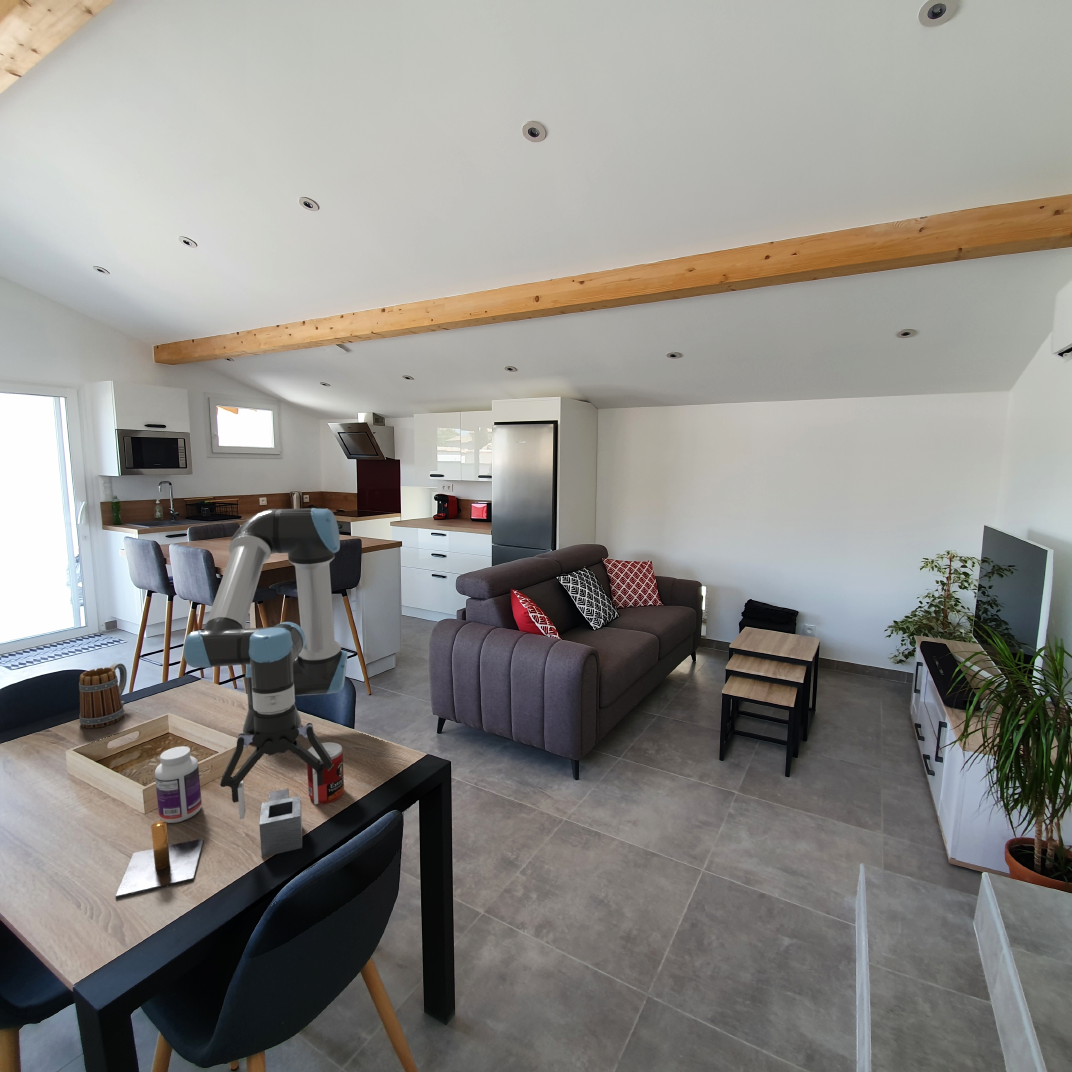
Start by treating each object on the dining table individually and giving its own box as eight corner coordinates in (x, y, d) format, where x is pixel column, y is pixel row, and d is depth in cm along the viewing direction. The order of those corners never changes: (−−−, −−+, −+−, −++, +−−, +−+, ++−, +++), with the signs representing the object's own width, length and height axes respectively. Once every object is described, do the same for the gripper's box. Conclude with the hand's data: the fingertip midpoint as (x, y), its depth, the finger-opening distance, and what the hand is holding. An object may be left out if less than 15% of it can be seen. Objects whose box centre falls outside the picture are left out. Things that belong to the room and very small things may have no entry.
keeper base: (133, 855, 113) (129, 813, 112) (203, 840, 118) (200, 800, 116) (115, 899, 102) (110, 852, 101) (193, 880, 106) (189, 836, 105)
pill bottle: (196, 798, 132) (191, 739, 130) (206, 814, 126) (201, 752, 124) (155, 813, 126) (149, 752, 124) (164, 830, 121) (158, 766, 119)
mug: (106, 729, 165) (101, 679, 163) (70, 729, 165) (64, 679, 163) (144, 705, 180) (140, 659, 178) (111, 705, 180) (106, 659, 178)
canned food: (333, 806, 129) (331, 760, 128) (301, 801, 131) (298, 756, 129) (350, 787, 137) (349, 743, 135) (320, 783, 138) (318, 740, 137)
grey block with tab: (270, 804, 130) (269, 792, 129) (289, 800, 131) (288, 788, 131) (267, 831, 120) (266, 818, 120) (288, 827, 122) (287, 814, 122)
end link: (263, 834, 120) (261, 803, 119) (302, 826, 122) (300, 795, 121) (261, 857, 113) (259, 824, 112) (302, 847, 116) (300, 815, 115)
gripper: (199, 725, 105) (207, 833, 108) (342, 705, 115) (346, 804, 117) (205, 709, 112) (212, 811, 115) (339, 691, 122) (343, 785, 124)
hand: (280, 807), depth 116 cm, fingers open, 13 cm apart
